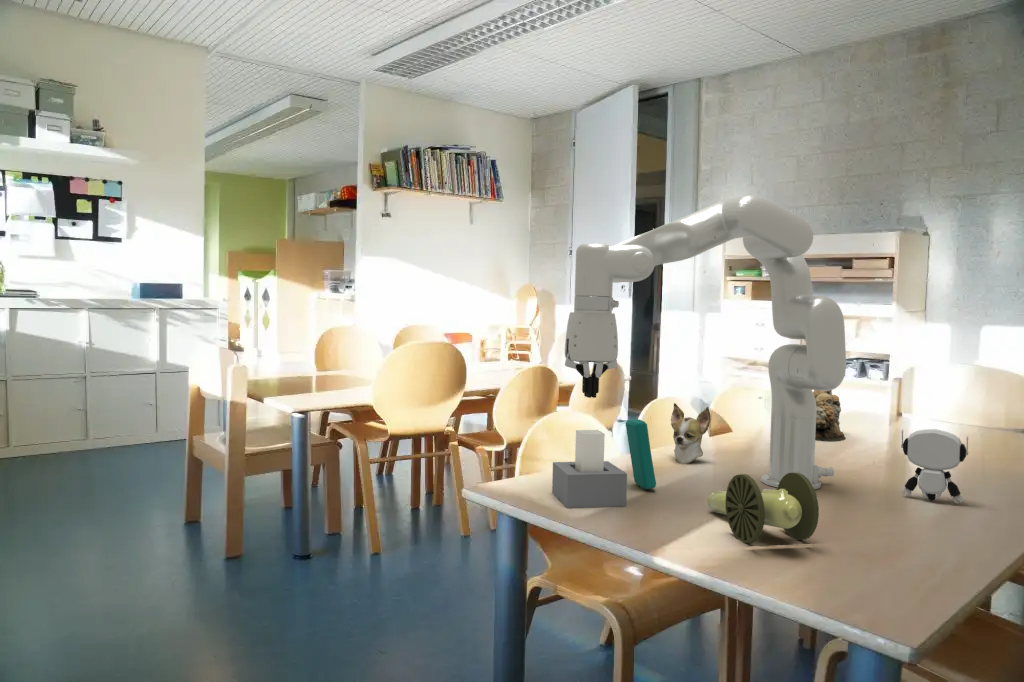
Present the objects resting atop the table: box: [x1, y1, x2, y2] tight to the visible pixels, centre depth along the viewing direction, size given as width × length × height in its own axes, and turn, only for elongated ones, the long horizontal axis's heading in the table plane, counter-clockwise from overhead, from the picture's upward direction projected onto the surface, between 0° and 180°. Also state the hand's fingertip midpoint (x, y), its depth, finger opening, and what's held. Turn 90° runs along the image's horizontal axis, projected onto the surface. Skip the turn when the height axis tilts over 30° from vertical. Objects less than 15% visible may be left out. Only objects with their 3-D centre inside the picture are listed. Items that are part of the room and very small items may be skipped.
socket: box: [551, 460, 628, 509], centre depth 153 cm, size 12×12×6 cm
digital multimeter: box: [625, 418, 657, 490], centre depth 163 cm, size 7×15×3 cm
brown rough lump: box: [812, 390, 846, 443], centre depth 229 cm, size 18×12×17 cm, turn 147°
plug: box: [574, 429, 606, 472], centre depth 153 cm, size 5×5×10 cm
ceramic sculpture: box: [670, 402, 711, 465], centre depth 190 cm, size 11×9×15 cm
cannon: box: [707, 472, 820, 544], centre depth 134 cm, size 25×12×11 cm, turn 14°
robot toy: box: [900, 428, 969, 504], centre depth 159 cm, size 12×4×15 cm, turn 54°
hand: (590, 396), depth 152 cm, fingers closed
